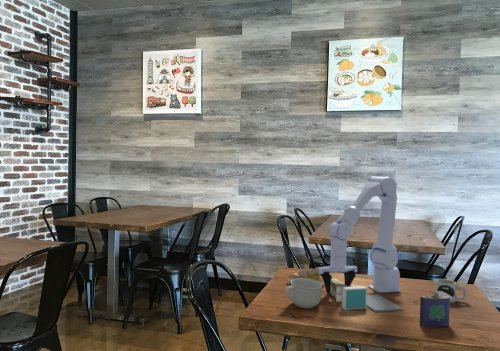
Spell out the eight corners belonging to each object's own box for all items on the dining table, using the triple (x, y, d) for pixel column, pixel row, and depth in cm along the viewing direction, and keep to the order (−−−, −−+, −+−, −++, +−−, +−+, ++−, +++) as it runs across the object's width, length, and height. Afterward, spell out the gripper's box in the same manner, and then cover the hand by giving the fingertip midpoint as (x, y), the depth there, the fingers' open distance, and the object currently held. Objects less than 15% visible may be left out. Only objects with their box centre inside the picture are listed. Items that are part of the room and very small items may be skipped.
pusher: (338, 291, 162) (339, 278, 162) (352, 300, 151) (352, 286, 151) (324, 292, 160) (324, 279, 160) (336, 301, 150) (337, 287, 150)
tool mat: (378, 296, 157) (378, 294, 157) (401, 310, 142) (402, 308, 142) (353, 297, 155) (353, 295, 155) (375, 312, 140) (375, 310, 140)
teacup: (311, 299, 152) (312, 276, 152) (327, 309, 142) (328, 285, 142) (276, 302, 147) (276, 280, 147) (290, 313, 137) (291, 289, 137)
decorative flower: (317, 273, 179) (319, 252, 176) (331, 287, 169) (333, 265, 166) (285, 279, 174) (286, 257, 171) (297, 293, 164) (299, 270, 161)
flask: (446, 323, 131) (447, 289, 131) (451, 327, 128) (453, 292, 128) (417, 324, 130) (419, 289, 130) (422, 328, 127) (423, 293, 127)
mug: (435, 300, 153) (436, 282, 153) (435, 295, 159) (436, 278, 159) (466, 305, 149) (467, 286, 149) (465, 300, 155) (466, 282, 155)
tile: (363, 306, 146) (364, 286, 145) (366, 308, 144) (367, 288, 143) (341, 307, 144) (342, 287, 143) (344, 310, 142) (345, 289, 141)
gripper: (324, 258, 150) (323, 296, 151) (361, 257, 154) (360, 294, 154) (316, 254, 157) (315, 290, 158) (352, 252, 160) (351, 288, 161)
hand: (337, 291), depth 156 cm, fingers open, 7 cm apart
